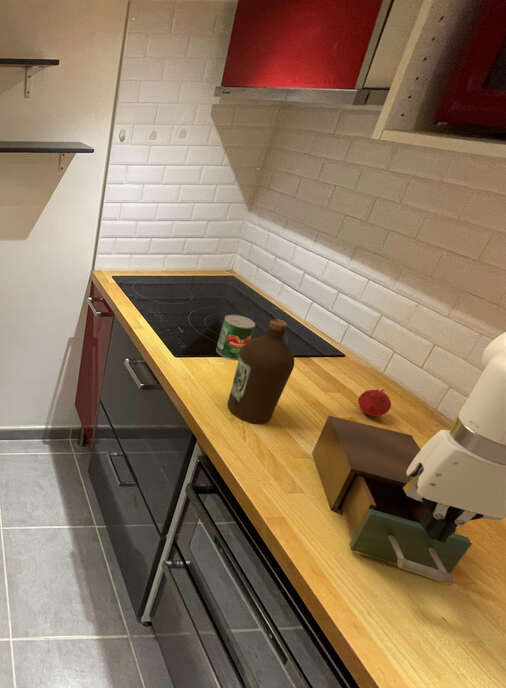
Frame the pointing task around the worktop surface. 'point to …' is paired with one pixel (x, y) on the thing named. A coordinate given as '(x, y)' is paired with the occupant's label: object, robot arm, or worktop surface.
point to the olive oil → (261, 375)
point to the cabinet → (360, 456)
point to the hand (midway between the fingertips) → (432, 532)
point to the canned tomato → (234, 336)
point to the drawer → (397, 529)
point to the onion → (374, 402)
